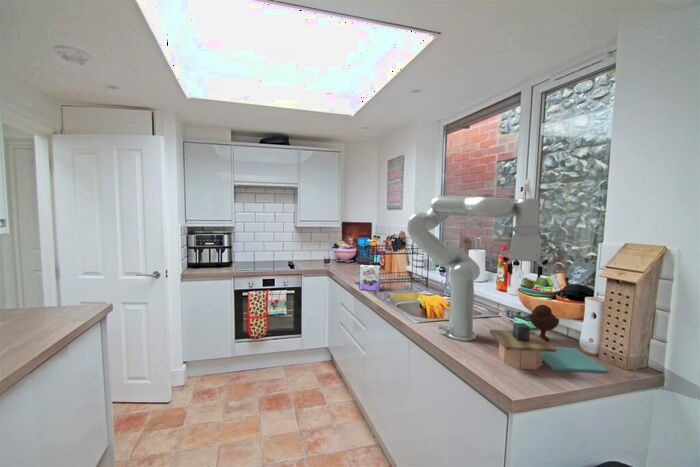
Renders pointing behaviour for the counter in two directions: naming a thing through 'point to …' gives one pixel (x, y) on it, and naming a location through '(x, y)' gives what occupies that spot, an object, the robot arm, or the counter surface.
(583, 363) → the teal mat
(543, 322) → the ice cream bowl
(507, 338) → the walnut lid
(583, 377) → the counter surface
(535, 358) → the terracotta bowl
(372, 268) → the candy box
